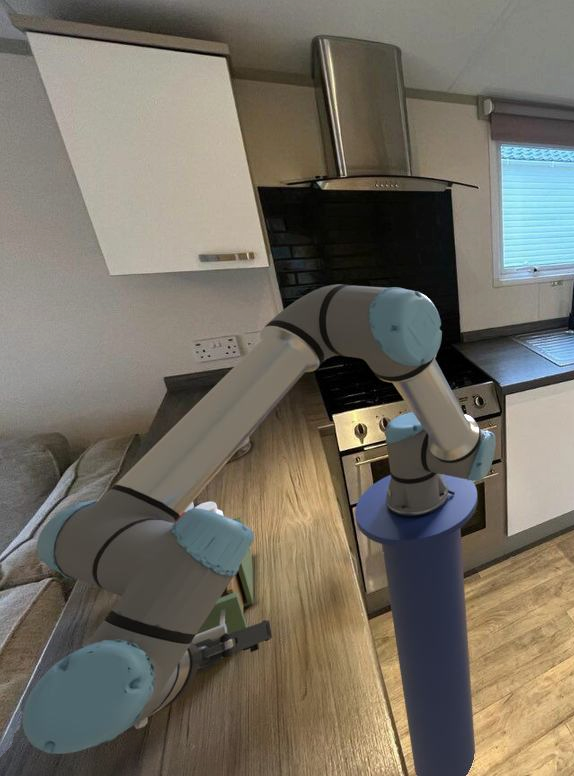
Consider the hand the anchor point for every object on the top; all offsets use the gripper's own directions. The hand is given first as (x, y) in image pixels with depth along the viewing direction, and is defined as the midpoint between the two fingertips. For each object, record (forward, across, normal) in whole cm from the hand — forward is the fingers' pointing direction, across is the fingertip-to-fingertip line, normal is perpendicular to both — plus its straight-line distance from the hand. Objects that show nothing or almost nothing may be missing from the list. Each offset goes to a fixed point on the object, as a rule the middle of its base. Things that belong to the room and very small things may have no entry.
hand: (197, 659), depth 64 cm
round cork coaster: (+65, -2, +54) cm, 85 cm away
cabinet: (+21, 0, +11) cm, 24 cm away
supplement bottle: (+33, -1, +22) cm, 39 cm away
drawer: (+13, 0, +3) cm, 13 cm away
